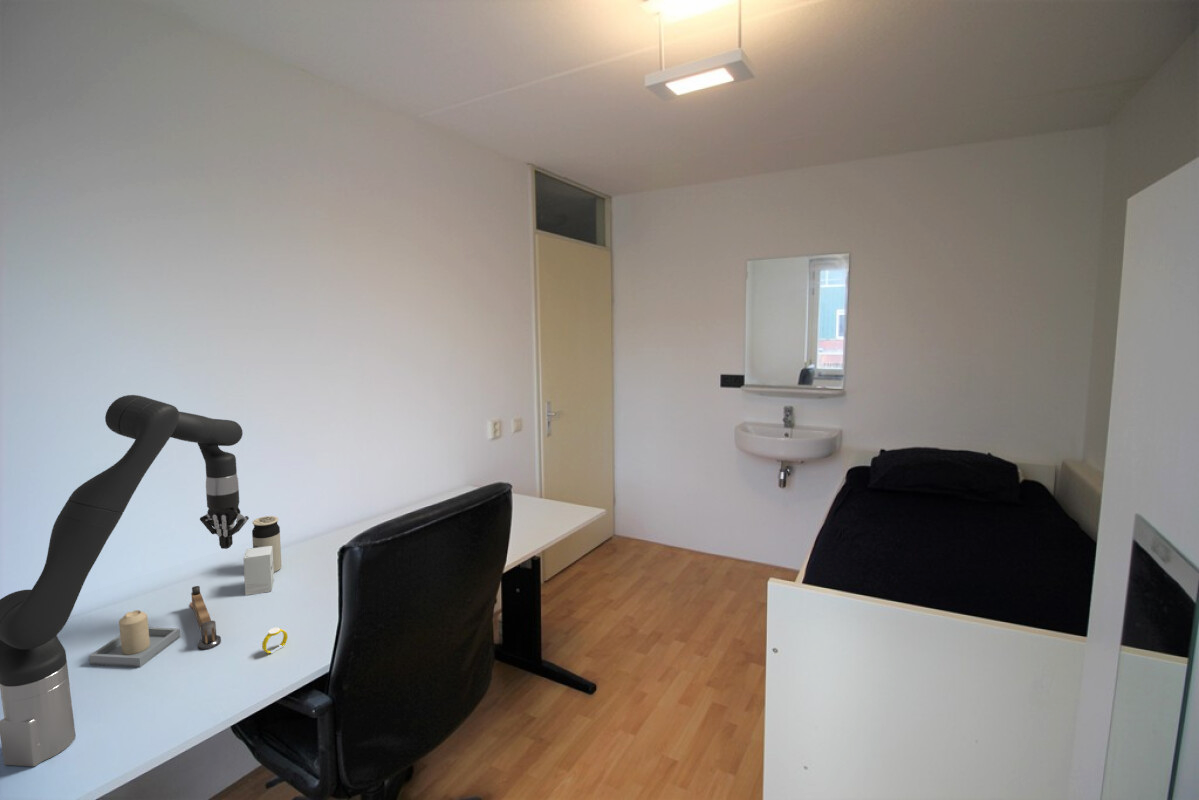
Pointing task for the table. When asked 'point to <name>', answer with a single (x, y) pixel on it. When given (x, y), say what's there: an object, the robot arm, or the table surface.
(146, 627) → the candle
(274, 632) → the watch
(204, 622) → the crank lever
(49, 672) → the robot arm
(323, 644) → the table surface
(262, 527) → the travel mug
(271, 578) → the supplement box
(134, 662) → the tray
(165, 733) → the table surface
